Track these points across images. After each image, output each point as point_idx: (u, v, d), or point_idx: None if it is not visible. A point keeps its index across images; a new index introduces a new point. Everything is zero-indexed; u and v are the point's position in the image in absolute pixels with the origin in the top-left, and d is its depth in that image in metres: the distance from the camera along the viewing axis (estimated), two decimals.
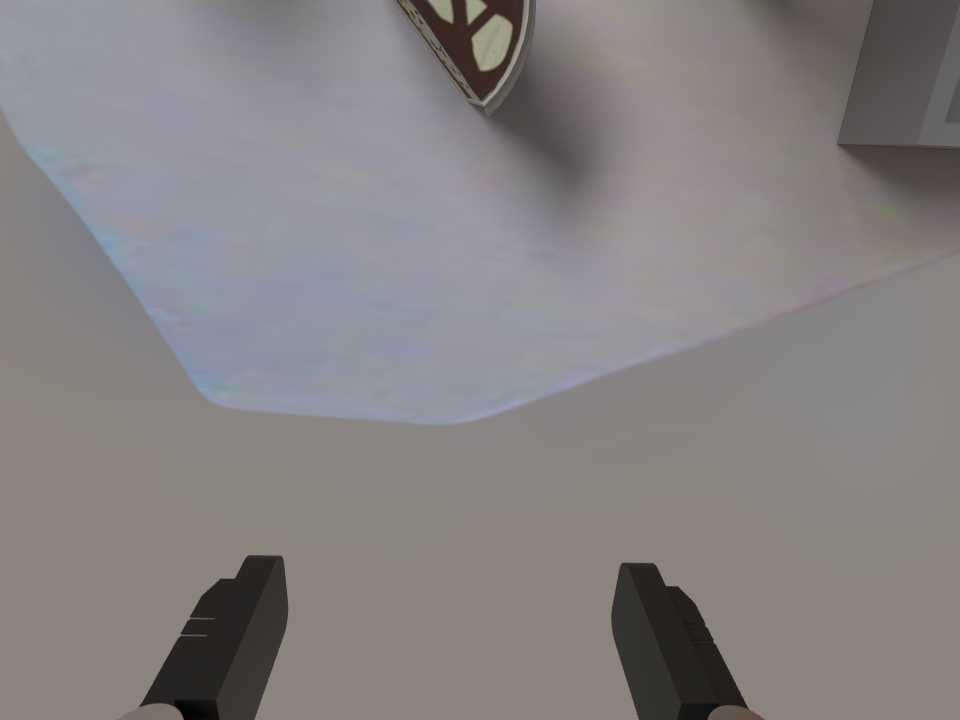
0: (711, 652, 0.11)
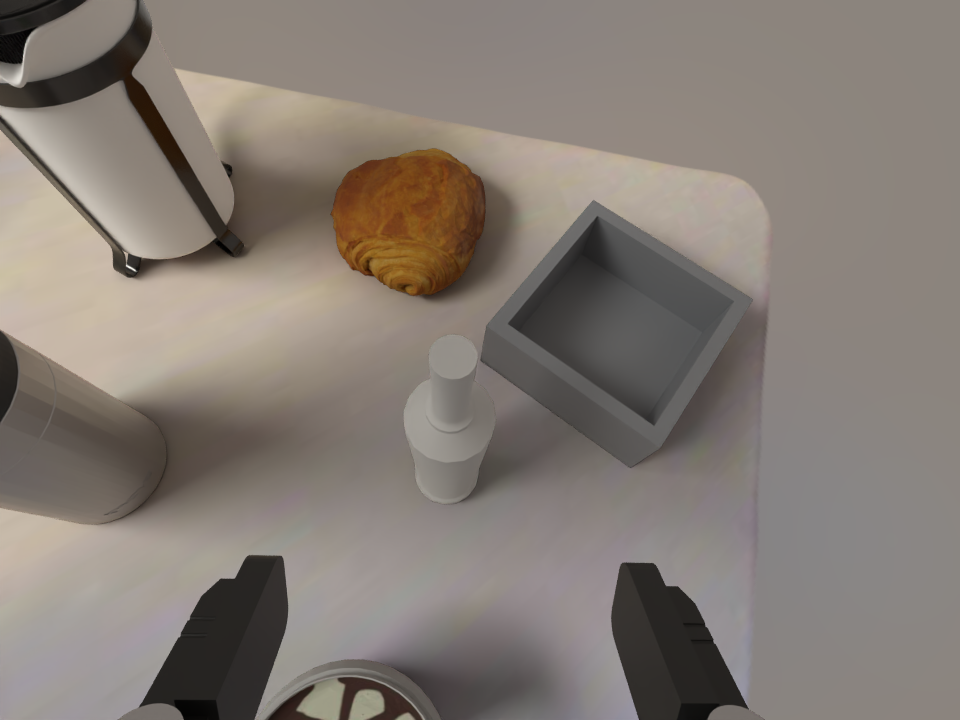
0: (711, 652, 0.11)
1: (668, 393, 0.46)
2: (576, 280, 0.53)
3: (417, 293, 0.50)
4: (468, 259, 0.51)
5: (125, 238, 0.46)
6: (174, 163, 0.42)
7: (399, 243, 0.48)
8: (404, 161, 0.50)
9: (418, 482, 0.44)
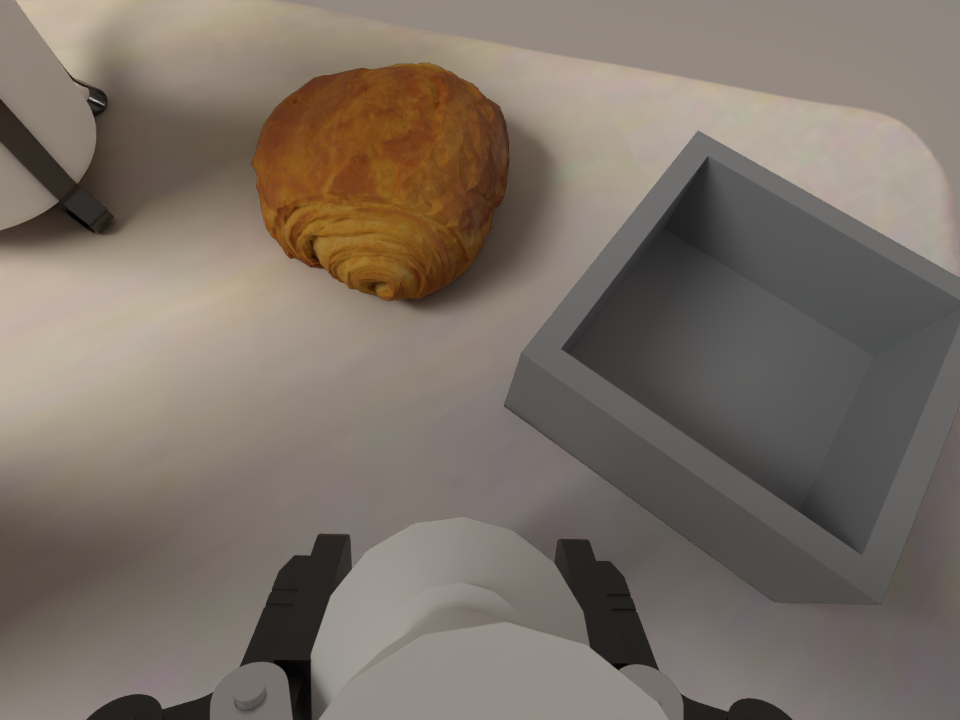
0: (632, 620, 0.12)
1: (851, 473, 0.25)
2: (659, 270, 0.32)
3: (394, 297, 0.29)
4: (481, 239, 0.30)
5: None
6: None
7: (361, 208, 0.27)
8: (373, 72, 0.30)
9: None
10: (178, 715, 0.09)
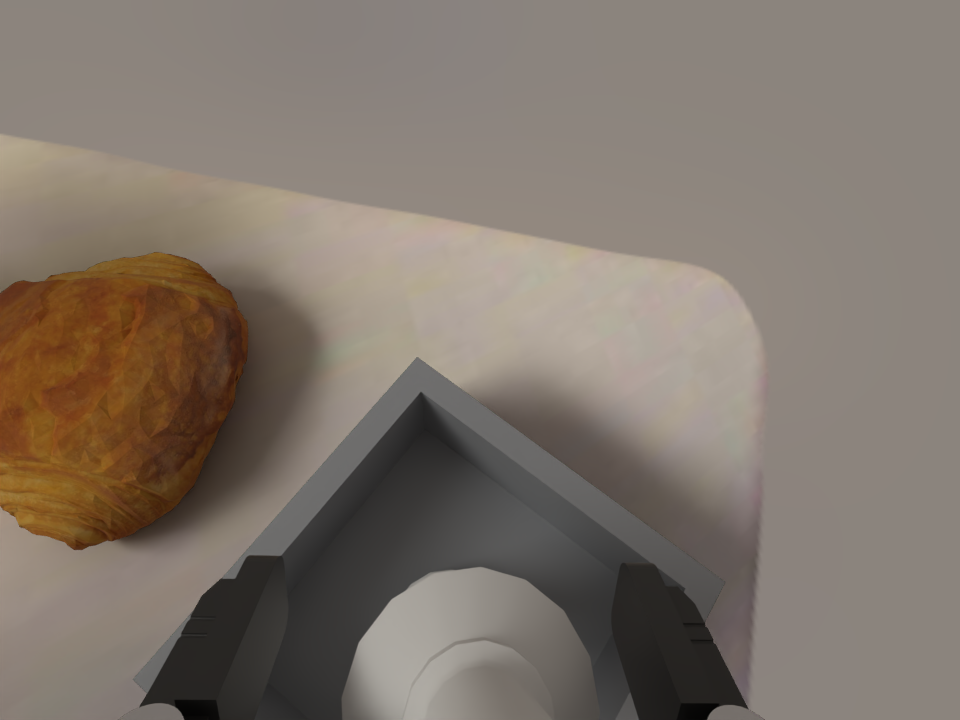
0: (711, 652, 0.11)
1: None
2: (409, 484, 0.29)
3: (77, 549, 0.26)
4: (183, 479, 0.26)
5: None
6: None
7: (17, 467, 0.24)
8: (62, 290, 0.26)
9: None
10: None
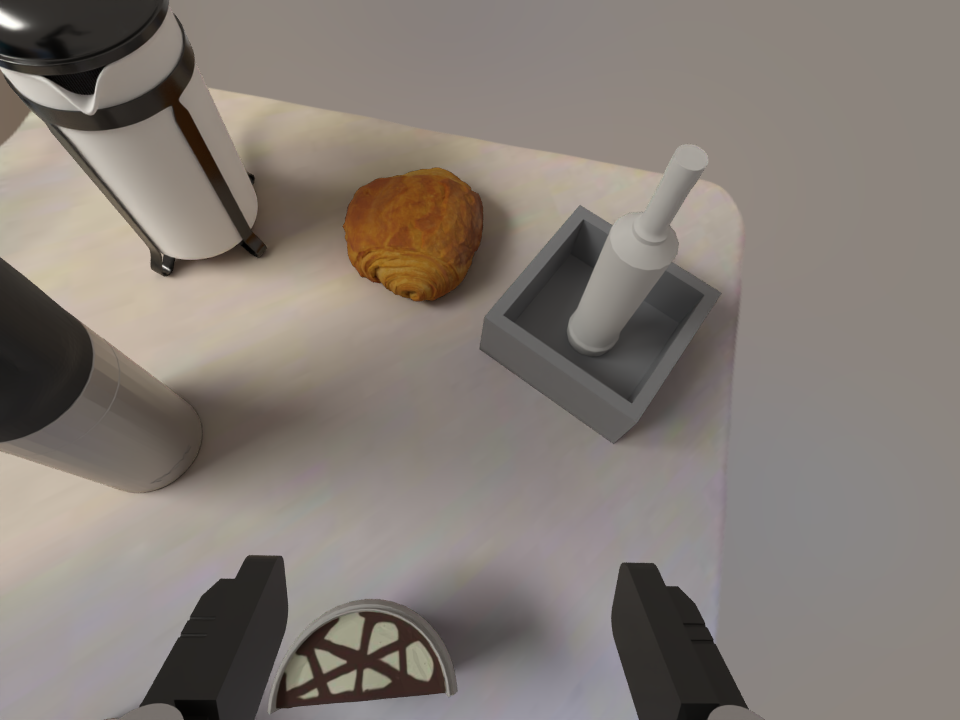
0: (711, 652, 0.11)
1: (646, 376, 0.52)
2: (565, 277, 0.59)
3: (419, 299, 0.55)
4: (466, 269, 0.56)
5: (164, 241, 0.52)
6: (210, 175, 0.48)
7: (404, 254, 0.54)
8: (410, 179, 0.56)
9: (573, 335, 0.54)
10: None
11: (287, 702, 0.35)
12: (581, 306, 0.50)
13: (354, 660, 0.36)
